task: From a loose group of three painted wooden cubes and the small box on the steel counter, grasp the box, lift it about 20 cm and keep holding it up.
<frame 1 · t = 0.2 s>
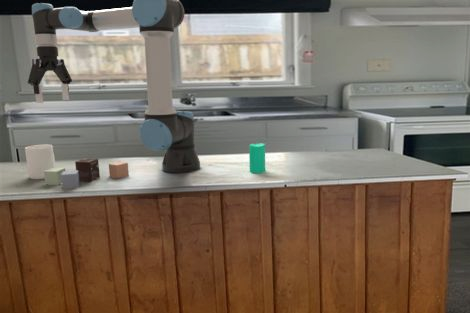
hand: (53, 101, 163), 28 cm above the countertop, fingers open, 13 cm apart
box: (88, 179, 151), on the countertop
candle: (257, 171, 157), on the countertop
cube terracotta: (119, 176, 155), on the countertop
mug: (44, 176, 158), on the countertop
cube sage: (56, 183, 147), on the countertop
cube slate: (71, 186, 142), on the countertop
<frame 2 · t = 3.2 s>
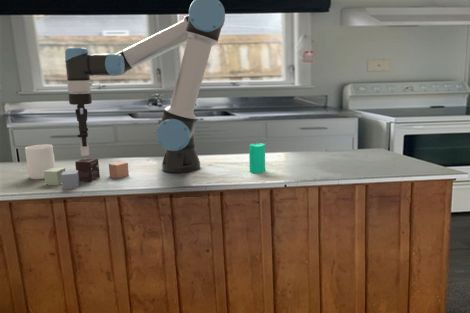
hand: (84, 151, 149), 10 cm above the countertop, fingers open, 13 cm apart
nothing on the countertop moved.
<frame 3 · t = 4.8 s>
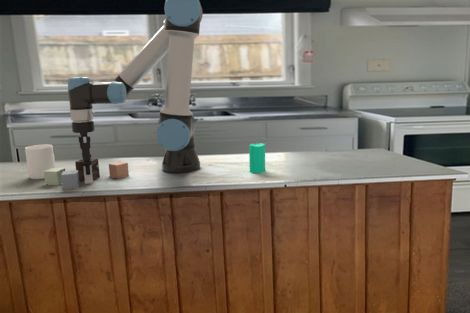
hand: (88, 178, 151), 0 cm above the countertop, fingers open, 12 cm apart
nothing on the countertop moved.
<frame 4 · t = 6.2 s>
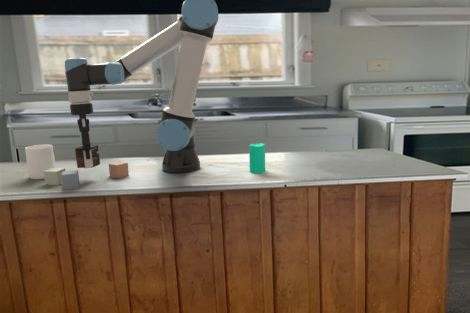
hand: (88, 165, 150), 5 cm above the countertop, fingers closed on box, 8 cm apart
box: (89, 166, 150), point 5 cm above the countertop, touching gripper
everything else where it was.
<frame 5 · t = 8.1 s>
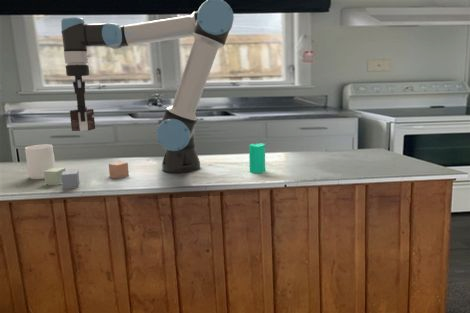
hand: (83, 129, 147), 19 cm above the countertop, fingers closed on box, 8 cm apart
box: (83, 130, 147), point 18 cm above the countertop, touching gripper
everything else where it was.
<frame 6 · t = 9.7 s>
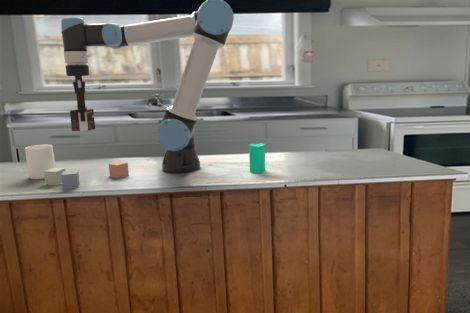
hand: (83, 129, 147), 19 cm above the countertop, fingers closed on box, 8 cm apart
box: (83, 130, 147), point 18 cm above the countertop, touching gripper
everything else where it was.
at the end: the gripper is holding box; box point 18.1 cm above the countertop; cube terracotta moved 0.1 cm from its start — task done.
